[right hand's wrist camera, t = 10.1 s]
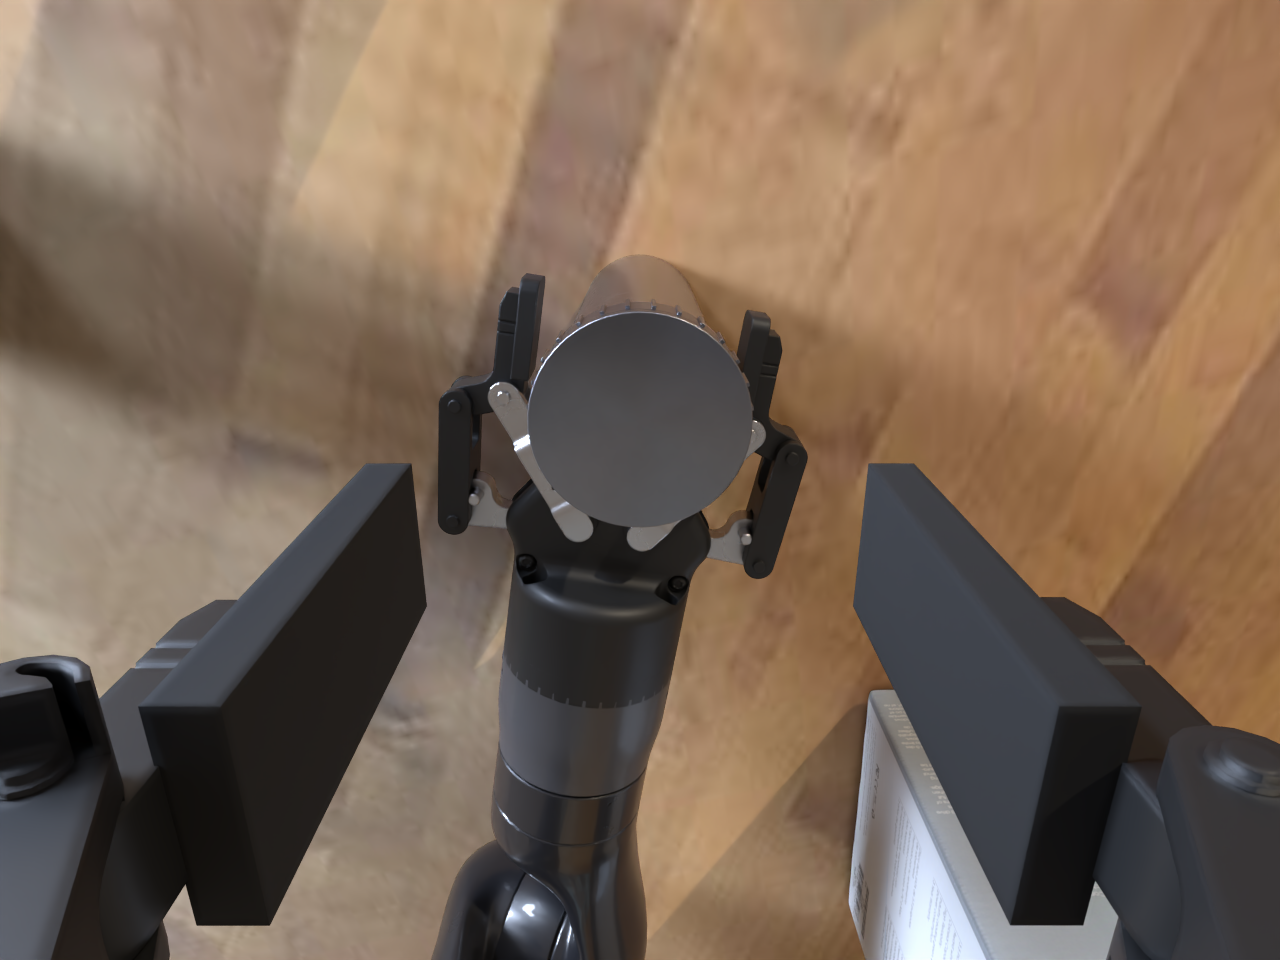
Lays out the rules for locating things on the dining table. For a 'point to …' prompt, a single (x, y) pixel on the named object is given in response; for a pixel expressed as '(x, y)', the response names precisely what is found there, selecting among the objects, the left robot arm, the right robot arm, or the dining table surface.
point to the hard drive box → (936, 867)
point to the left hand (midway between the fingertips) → (646, 295)
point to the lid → (639, 414)
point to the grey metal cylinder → (639, 285)
